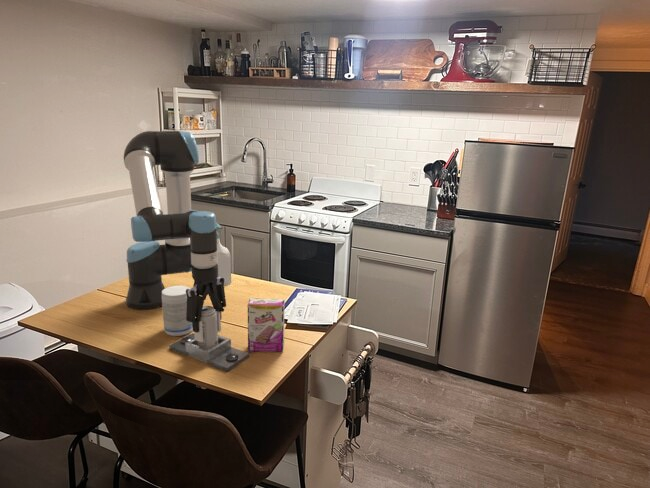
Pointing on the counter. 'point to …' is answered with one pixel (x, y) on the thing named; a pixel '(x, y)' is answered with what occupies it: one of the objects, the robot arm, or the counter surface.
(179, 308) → the supplement tub
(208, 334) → the energy drink can
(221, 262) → the soap bottle
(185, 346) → the grey base plate
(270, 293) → the counter surface
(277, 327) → the candy bar box
